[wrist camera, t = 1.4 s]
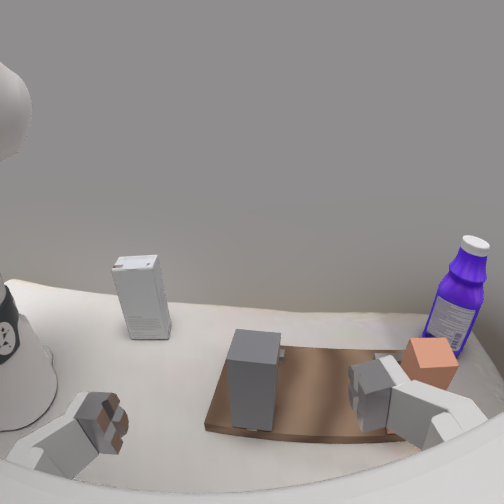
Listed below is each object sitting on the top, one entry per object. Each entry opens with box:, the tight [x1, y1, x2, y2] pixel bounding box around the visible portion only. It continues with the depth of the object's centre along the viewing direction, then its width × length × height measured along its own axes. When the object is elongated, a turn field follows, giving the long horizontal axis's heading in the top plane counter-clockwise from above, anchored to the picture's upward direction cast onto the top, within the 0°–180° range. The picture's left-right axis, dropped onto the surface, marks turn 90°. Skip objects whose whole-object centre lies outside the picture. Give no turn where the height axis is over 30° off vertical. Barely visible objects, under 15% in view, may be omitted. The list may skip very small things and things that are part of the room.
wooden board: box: [204, 345, 407, 443], centre depth 33 cm, size 26×14×3 cm, turn 81°
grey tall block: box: [226, 329, 281, 431], centre depth 27 cm, size 4×4×10 cm
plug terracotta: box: [386, 337, 459, 434], centre depth 25 cm, size 4×4×10 cm
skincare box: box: [111, 255, 171, 339], centre depth 42 cm, size 6×4×12 cm
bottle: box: [422, 235, 490, 357], centre depth 35 cm, size 7×6×17 cm
